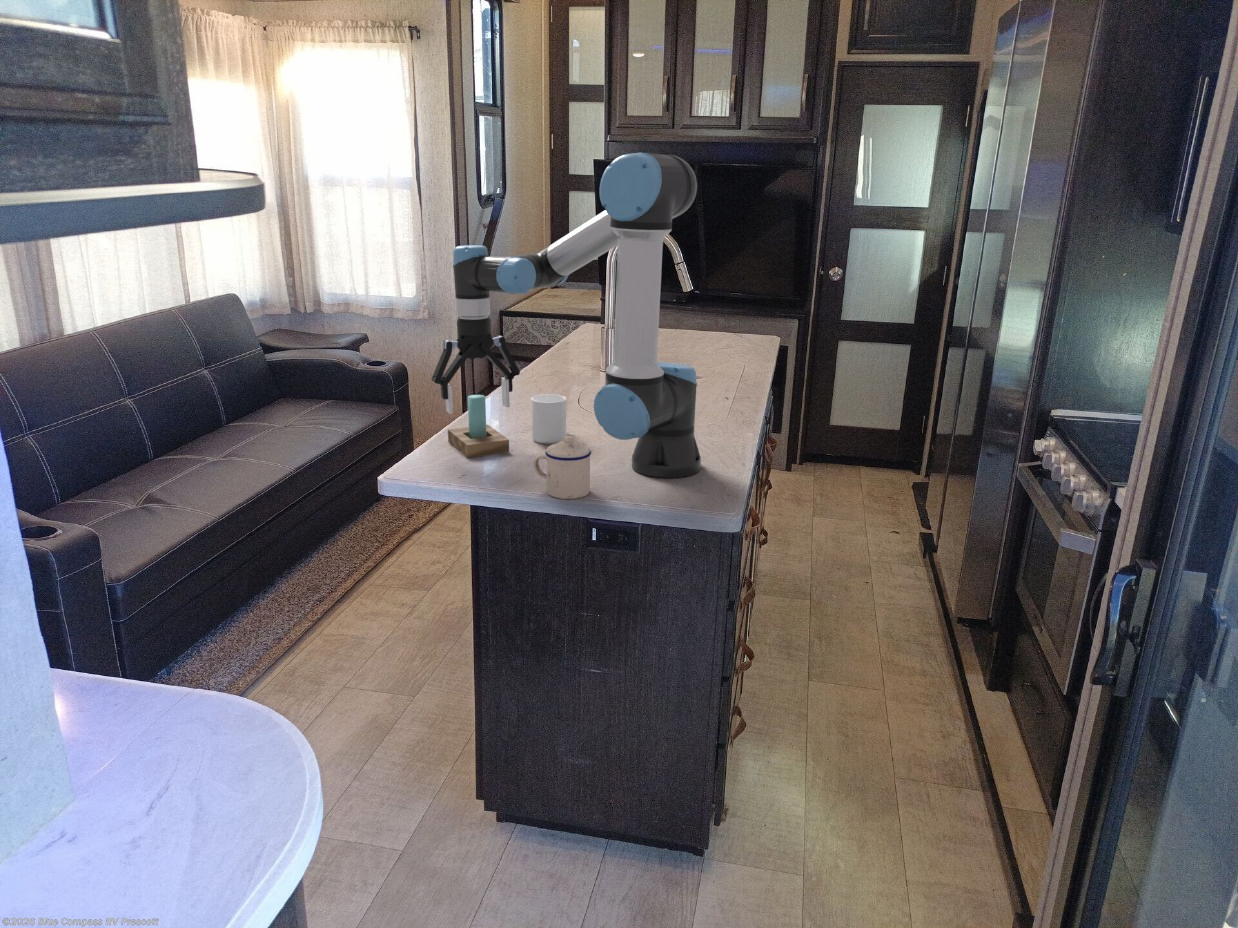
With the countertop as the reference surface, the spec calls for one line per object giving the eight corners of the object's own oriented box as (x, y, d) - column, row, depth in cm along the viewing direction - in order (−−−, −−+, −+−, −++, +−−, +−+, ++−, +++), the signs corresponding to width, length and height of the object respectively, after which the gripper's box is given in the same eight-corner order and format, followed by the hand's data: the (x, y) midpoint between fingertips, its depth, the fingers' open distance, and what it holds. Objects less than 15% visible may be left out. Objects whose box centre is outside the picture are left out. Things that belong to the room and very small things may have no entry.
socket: (509, 452, 201) (508, 439, 200) (467, 457, 196) (466, 445, 195) (488, 436, 213) (487, 424, 212) (448, 441, 208) (447, 429, 207)
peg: (489, 448, 204) (487, 397, 200) (472, 450, 202) (471, 399, 198) (483, 443, 207) (481, 394, 203) (467, 445, 205) (465, 395, 202)
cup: (525, 441, 209) (524, 400, 206) (549, 428, 220) (548, 389, 217) (556, 445, 206) (556, 404, 203) (578, 433, 217) (578, 393, 214)
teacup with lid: (597, 488, 179) (598, 433, 175) (580, 502, 171) (580, 445, 167) (543, 480, 183) (543, 427, 179) (525, 494, 175) (524, 438, 171)
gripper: (519, 311, 204) (522, 399, 210) (413, 318, 193) (420, 412, 199) (531, 315, 197) (534, 406, 204) (423, 323, 186) (430, 419, 193)
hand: (478, 409), depth 201 cm, fingers open, 13 cm apart
